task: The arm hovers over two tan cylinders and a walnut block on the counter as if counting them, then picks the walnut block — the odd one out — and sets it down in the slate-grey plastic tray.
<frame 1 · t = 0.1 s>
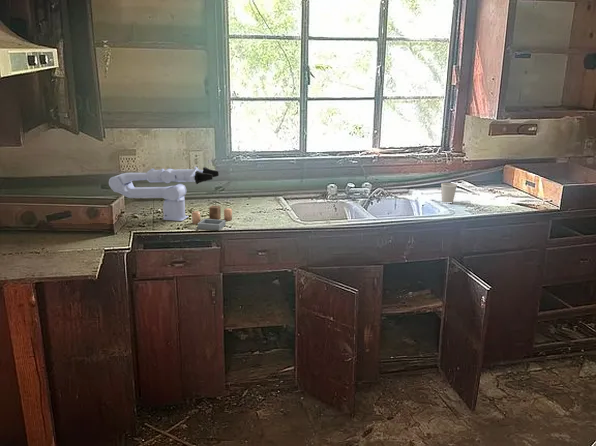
hand: (215, 175, 255), 22 cm above the worktop, fingers open, 7 cm apart
tan cylinder b: (196, 222, 259), on the worktop
walnut block: (215, 219, 265), on the worktop
dixie cup: (447, 203, 303), on the worktop
tray: (211, 226, 253), on the worktop
tan cylinder a: (228, 219, 265), on the worktop
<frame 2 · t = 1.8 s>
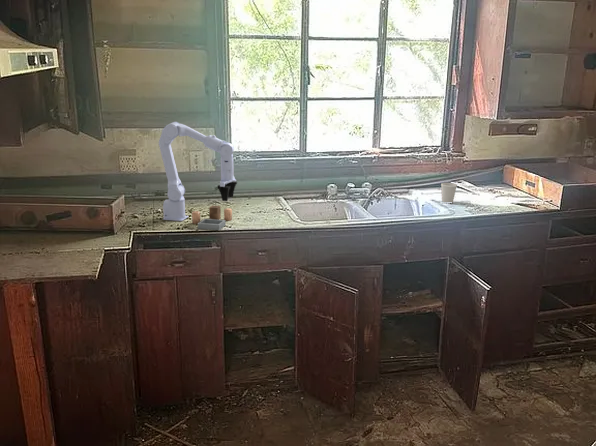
hand: (227, 198, 262), 10 cm above the worktop, fingers open, 7 cm apart
nothing on the worktop moved.
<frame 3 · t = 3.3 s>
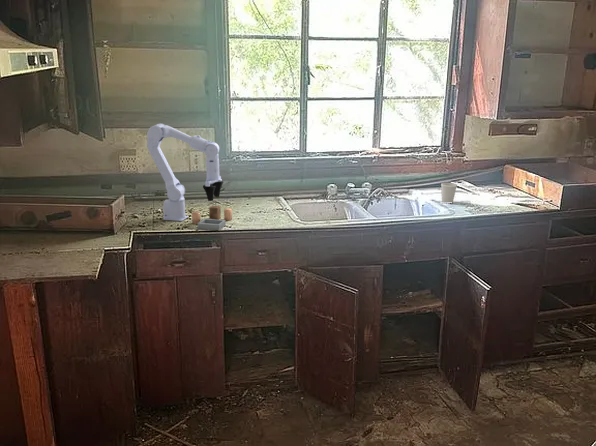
hand: (213, 198, 262), 10 cm above the worktop, fingers open, 7 cm apart
nothing on the worktop moved.
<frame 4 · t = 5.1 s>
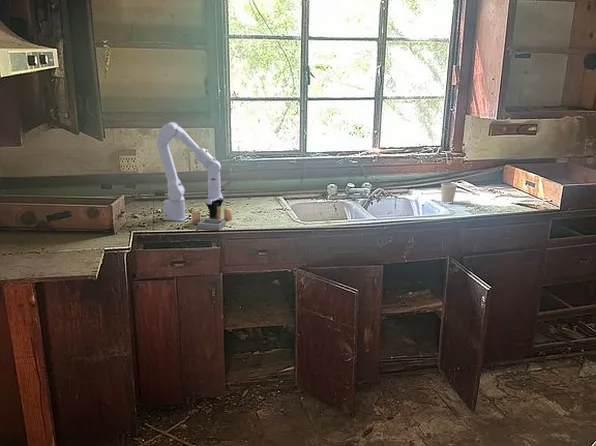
hand: (215, 215, 265), 2 cm above the worktop, fingers closed on walnut block, 4 cm apart
walnut block: (215, 219, 265), on the worktop, touching gripper
everything else where it was.
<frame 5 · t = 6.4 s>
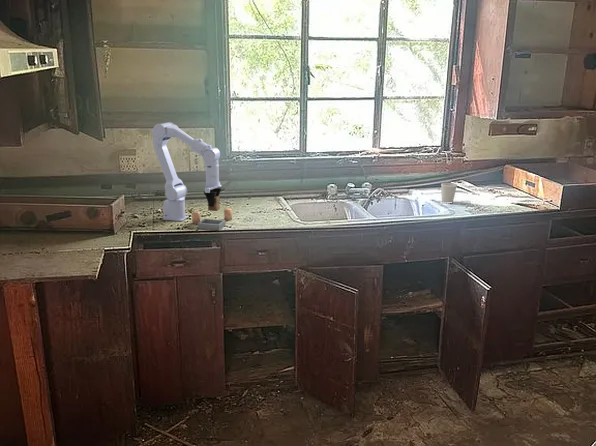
hand: (213, 205, 257), 8 cm above the worktop, fingers closed on walnut block, 4 cm apart
walnut block: (214, 209, 257), point 6 cm above the worktop, touching gripper
everything else where it was.
when the fingers open (4 cm above the worktop, at t = 8.0 s): walnut block stays where it is, resting on tray.
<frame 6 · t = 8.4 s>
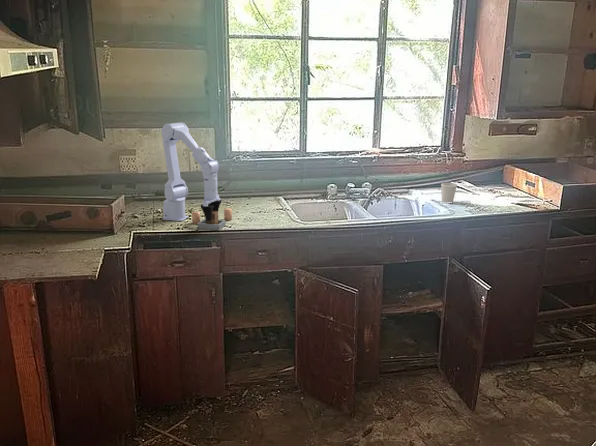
hand: (211, 218, 252), 4 cm above the worktop, fingers open, 7 cm apart
walnut block: (212, 225, 253), point 1 cm above the worktop, touching tray
everything else where it was.
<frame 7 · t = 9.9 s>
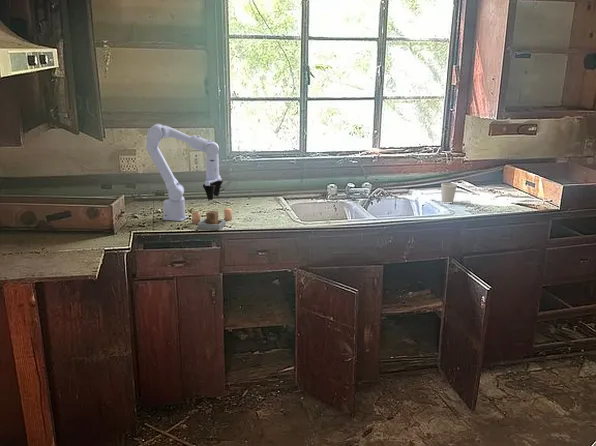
hand: (213, 197, 263), 10 cm above the worktop, fingers open, 7 cm apart
nothing on the worktop moved.
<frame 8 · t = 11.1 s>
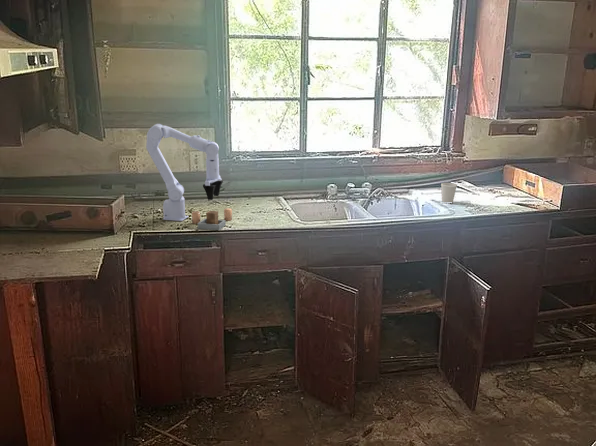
hand: (213, 197, 263), 10 cm above the worktop, fingers open, 7 cm apart
nothing on the worktop moved.
at the end: walnut block inside the target area on the tray (0.4 cm from its centre), point 0.8 cm above the tray's base; the gripper is holding nothing; walnut block tilted 0° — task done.
